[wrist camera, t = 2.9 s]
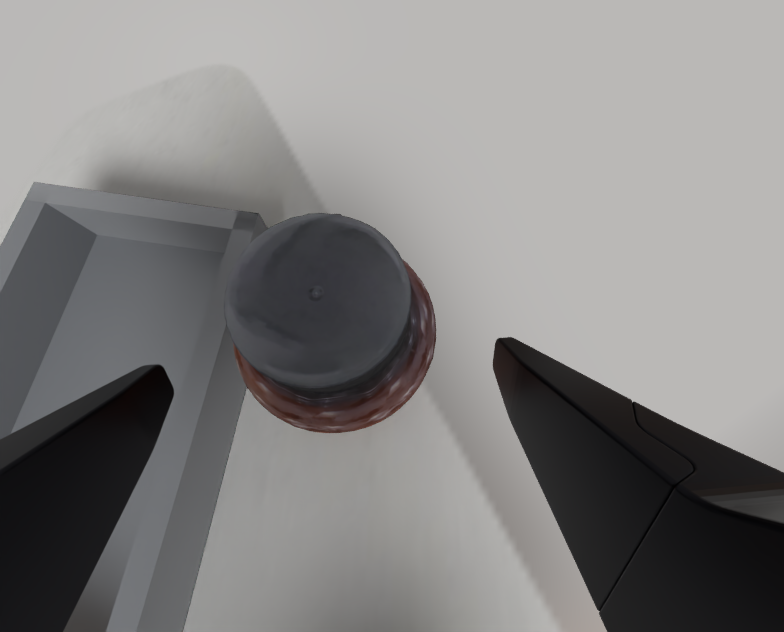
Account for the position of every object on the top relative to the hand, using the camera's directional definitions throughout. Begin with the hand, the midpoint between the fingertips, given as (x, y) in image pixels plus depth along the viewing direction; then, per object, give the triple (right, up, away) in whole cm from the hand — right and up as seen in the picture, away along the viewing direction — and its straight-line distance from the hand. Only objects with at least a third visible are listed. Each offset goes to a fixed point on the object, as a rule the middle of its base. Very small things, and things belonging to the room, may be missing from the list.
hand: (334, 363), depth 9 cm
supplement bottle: (0, -1, +9) cm, 9 cm away
